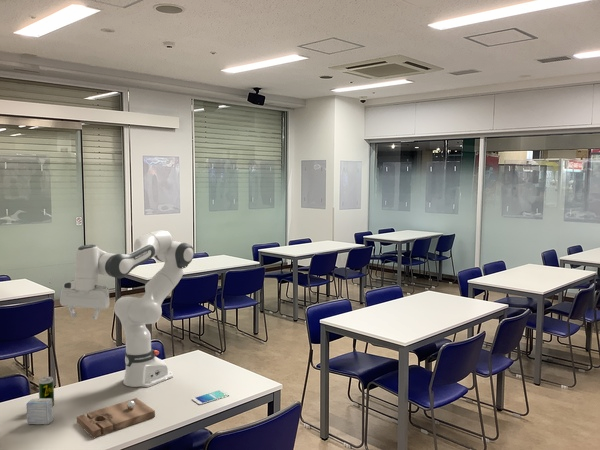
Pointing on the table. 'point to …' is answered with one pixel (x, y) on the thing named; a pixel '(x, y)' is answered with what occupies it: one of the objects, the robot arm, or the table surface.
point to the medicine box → (39, 411)
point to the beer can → (46, 388)
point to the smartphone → (209, 397)
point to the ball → (130, 404)
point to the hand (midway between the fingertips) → (84, 318)
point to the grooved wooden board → (114, 417)
